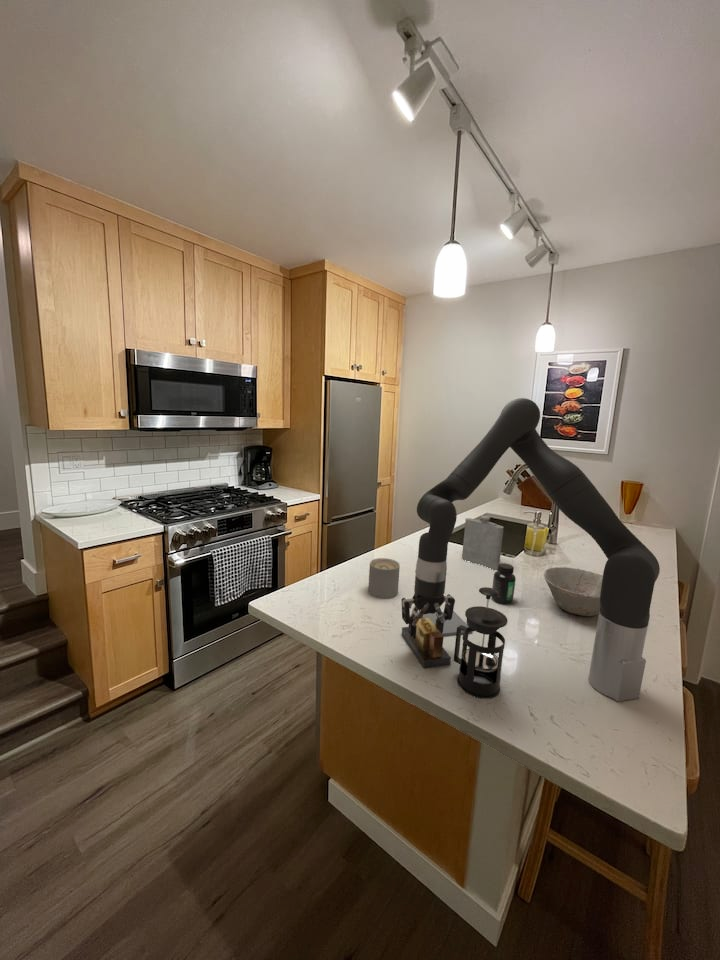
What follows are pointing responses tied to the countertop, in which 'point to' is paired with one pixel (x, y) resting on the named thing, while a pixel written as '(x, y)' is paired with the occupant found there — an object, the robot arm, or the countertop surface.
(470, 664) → the french press
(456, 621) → the rubber mat
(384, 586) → the coffee mug
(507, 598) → the supplement bottle
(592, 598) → the ceramic bowl
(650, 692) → the countertop surface
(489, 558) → the notched spreader
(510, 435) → the robot arm
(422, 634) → the lever cap
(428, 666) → the hand plane
